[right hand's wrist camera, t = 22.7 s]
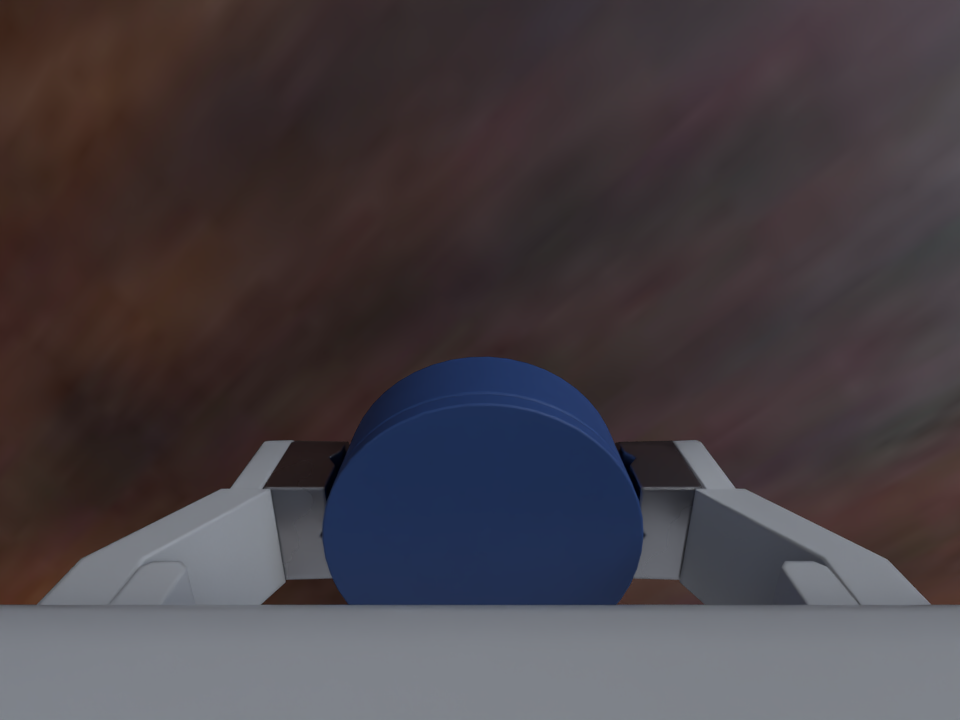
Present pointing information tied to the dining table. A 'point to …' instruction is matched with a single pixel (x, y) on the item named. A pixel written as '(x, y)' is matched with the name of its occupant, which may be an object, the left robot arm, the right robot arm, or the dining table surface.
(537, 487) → the lid
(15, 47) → the dining table surface
